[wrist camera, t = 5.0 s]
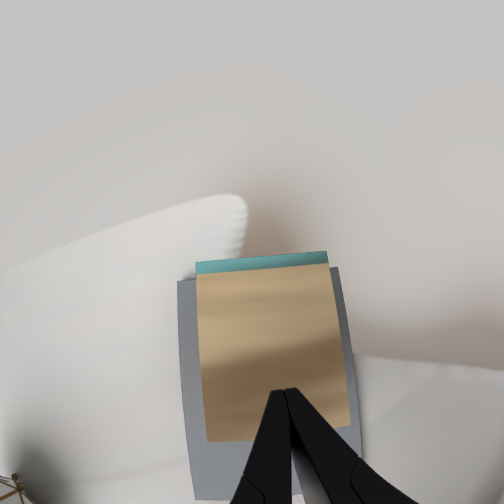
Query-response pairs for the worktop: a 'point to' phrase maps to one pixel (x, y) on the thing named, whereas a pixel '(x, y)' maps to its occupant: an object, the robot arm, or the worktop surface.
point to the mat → (199, 450)
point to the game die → (13, 491)
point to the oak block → (267, 340)
